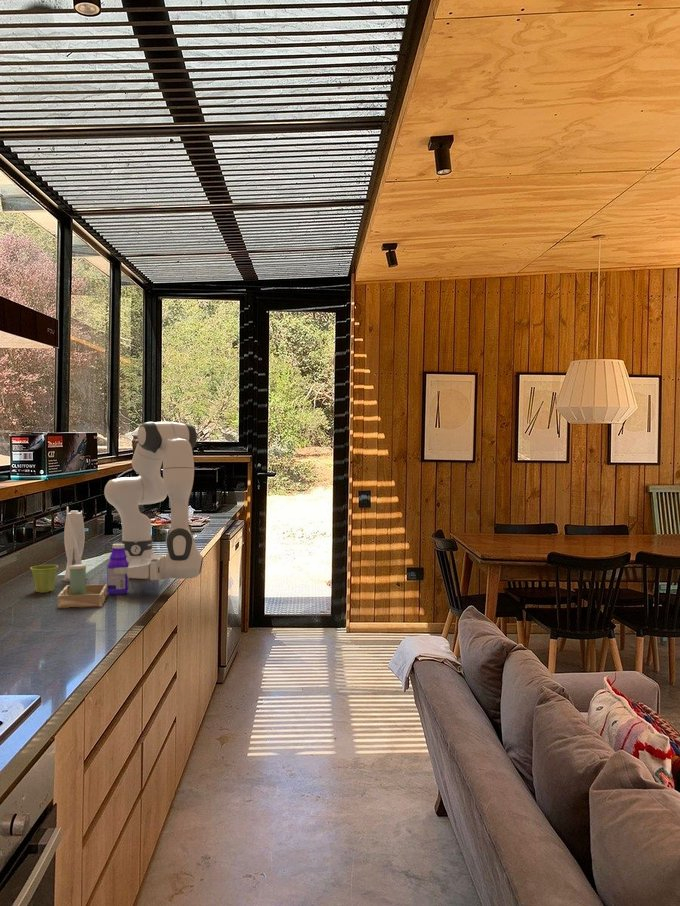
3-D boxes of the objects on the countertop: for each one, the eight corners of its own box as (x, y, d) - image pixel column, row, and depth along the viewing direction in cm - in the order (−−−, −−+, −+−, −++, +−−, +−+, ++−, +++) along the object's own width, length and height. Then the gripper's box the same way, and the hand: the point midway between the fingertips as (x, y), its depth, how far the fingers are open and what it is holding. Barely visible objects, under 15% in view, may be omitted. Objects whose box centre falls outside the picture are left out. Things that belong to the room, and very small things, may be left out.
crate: (66, 596, 268) (66, 585, 268) (107, 595, 271) (107, 584, 271) (57, 608, 251) (57, 595, 251) (101, 606, 254) (101, 594, 254)
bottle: (130, 591, 278) (130, 542, 277) (126, 595, 272) (126, 545, 271) (109, 591, 277) (109, 542, 277) (105, 595, 272) (105, 545, 271)
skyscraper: (57, 580, 298) (57, 506, 297) (74, 577, 305) (73, 505, 304) (73, 582, 294) (73, 508, 293) (89, 579, 301) (89, 506, 301)
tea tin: (71, 601, 259) (70, 565, 259) (87, 600, 260) (86, 564, 260) (69, 604, 254) (68, 567, 254) (86, 603, 255) (85, 566, 255)
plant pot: (28, 594, 272) (28, 569, 272) (31, 589, 281) (31, 565, 281) (57, 593, 274) (57, 568, 274) (59, 588, 284) (59, 564, 283)
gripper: (157, 553, 287) (118, 554, 284) (154, 562, 267) (112, 563, 264) (157, 570, 287) (118, 571, 285) (154, 581, 267) (112, 582, 264)
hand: (115, 567), depth 274 cm, fingers open, 8 cm apart
